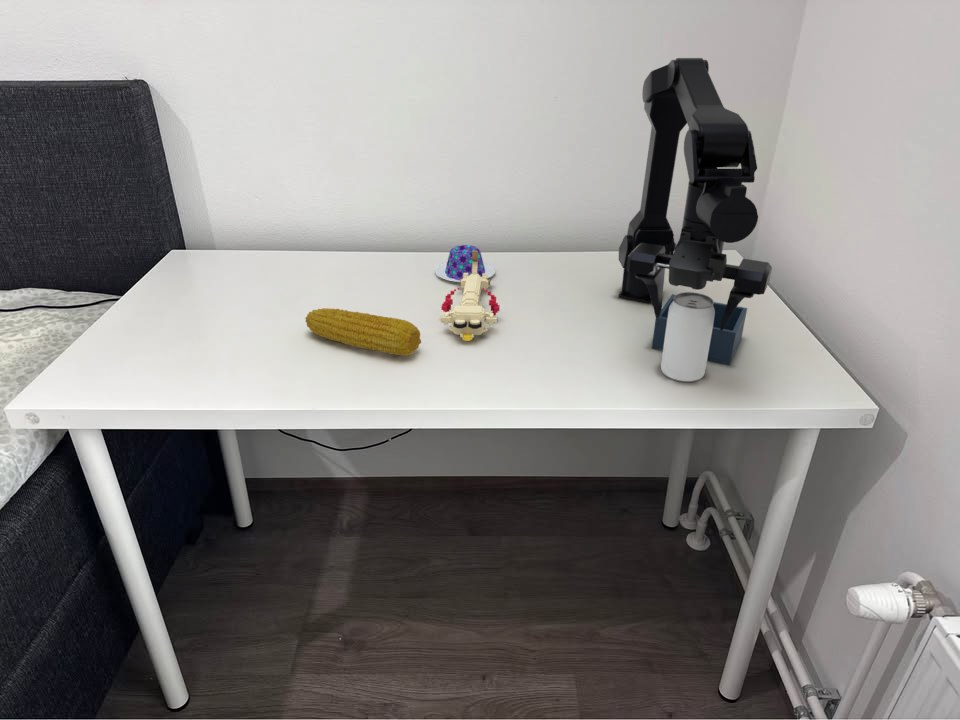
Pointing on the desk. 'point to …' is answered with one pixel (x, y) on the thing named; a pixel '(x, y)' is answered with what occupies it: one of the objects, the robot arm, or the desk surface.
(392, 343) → the food
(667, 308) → the bin
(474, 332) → the cream brick animal figure
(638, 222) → the robot arm
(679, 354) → the can
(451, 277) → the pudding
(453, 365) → the desk surface
